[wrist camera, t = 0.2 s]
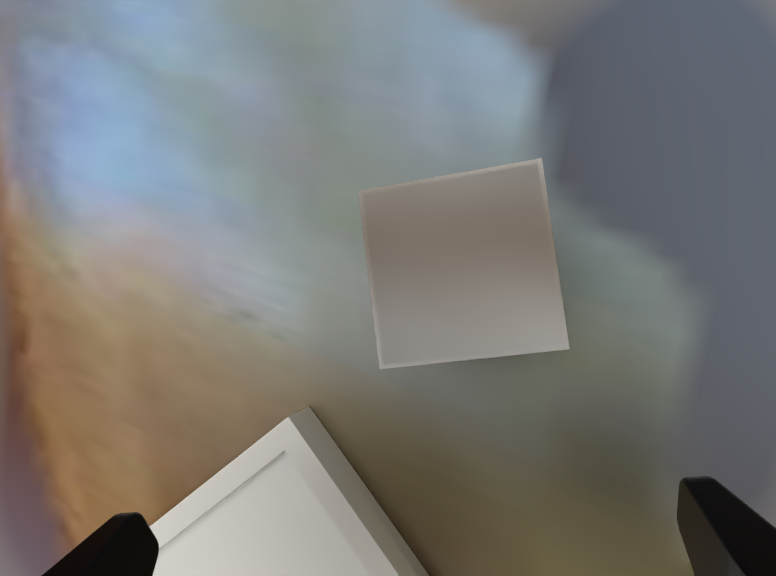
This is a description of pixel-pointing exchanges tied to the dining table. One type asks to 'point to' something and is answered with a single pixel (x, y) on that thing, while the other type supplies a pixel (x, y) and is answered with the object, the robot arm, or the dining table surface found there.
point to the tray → (283, 515)
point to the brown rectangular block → (463, 267)
